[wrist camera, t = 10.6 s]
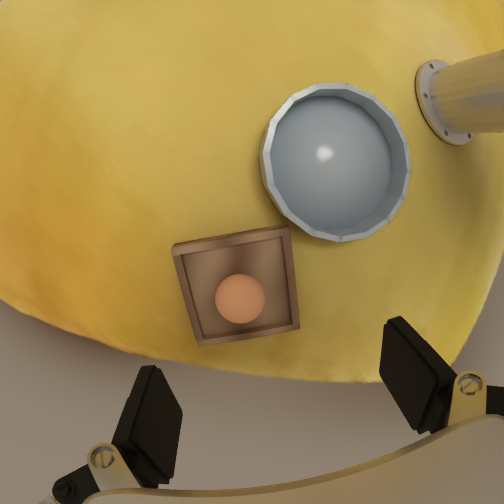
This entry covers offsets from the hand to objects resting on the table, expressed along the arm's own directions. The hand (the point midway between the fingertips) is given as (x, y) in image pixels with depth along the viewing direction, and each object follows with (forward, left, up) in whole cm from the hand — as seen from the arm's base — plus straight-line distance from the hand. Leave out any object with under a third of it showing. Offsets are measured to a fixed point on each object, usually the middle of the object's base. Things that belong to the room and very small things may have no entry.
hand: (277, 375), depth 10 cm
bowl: (-10, -8, -20) cm, 24 cm away
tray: (+2, +4, -20) cm, 21 cm away
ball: (+1, +4, -19) cm, 20 cm away
